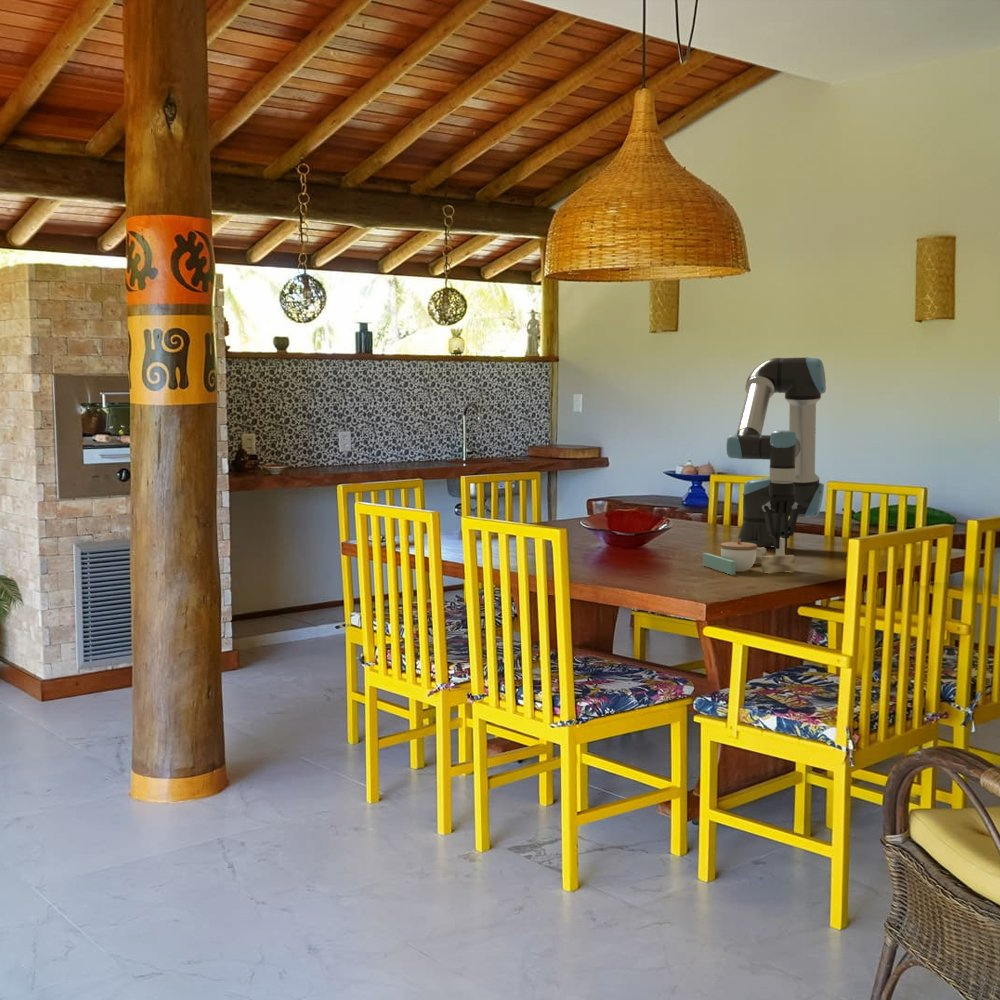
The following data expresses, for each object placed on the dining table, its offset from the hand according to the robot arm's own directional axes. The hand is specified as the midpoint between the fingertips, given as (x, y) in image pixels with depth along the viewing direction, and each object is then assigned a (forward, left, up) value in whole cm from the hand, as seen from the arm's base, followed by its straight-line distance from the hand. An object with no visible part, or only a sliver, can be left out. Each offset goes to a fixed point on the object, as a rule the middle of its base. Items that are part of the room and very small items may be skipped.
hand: (779, 559), depth 354 cm
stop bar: (+21, 0, -3) cm, 21 cm away
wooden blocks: (+6, 0, -3) cm, 6 cm away
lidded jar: (+14, +1, -3) cm, 15 cm away
